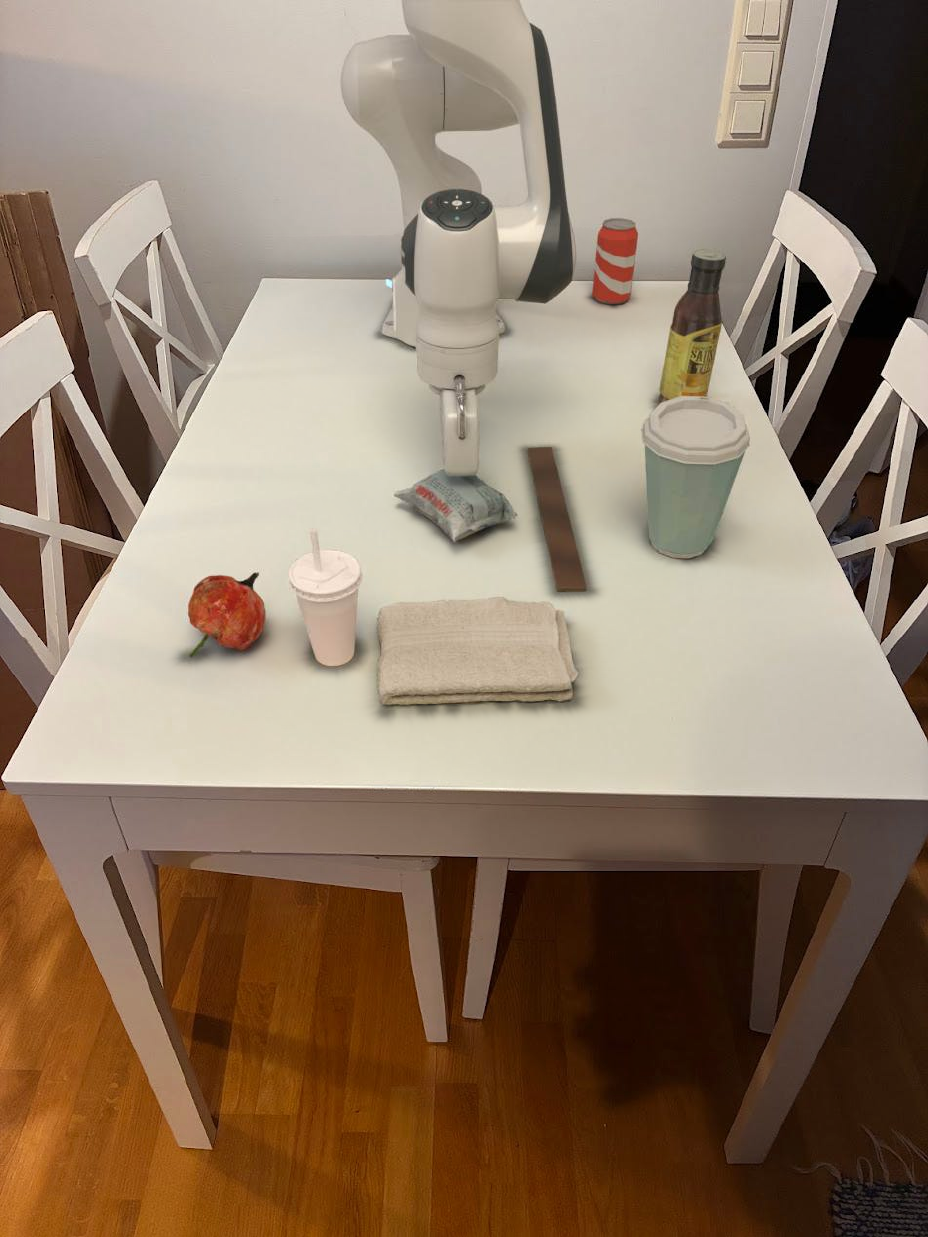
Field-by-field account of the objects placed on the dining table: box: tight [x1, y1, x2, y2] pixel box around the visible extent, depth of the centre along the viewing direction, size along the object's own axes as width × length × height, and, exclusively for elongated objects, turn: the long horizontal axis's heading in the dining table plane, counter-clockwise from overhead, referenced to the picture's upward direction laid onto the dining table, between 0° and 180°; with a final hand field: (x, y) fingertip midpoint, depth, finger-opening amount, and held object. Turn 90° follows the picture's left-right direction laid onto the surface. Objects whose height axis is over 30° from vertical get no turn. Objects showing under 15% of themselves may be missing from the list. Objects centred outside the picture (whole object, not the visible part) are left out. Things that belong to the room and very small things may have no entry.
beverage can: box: [591, 217, 639, 305], centre depth 149 cm, size 6×6×12 cm
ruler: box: [526, 446, 588, 592], centre depth 105 cm, size 28×3×1 cm, turn 3°
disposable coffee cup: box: [640, 396, 751, 559], centre depth 96 cm, size 11×11×15 cm
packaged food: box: [393, 468, 518, 543], centre depth 102 cm, size 9×12×5 cm
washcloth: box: [376, 596, 580, 706], centre depth 85 cm, size 12×18×3 cm, turn 94°
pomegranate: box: [187, 572, 267, 658], centre depth 86 cm, size 7×7×10 cm
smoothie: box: [288, 528, 364, 667], centre depth 83 cm, size 6×6×14 cm
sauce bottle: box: [658, 249, 727, 404], centre depth 118 cm, size 6×6×20 cm
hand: (457, 468), depth 109 cm, fingers closed
